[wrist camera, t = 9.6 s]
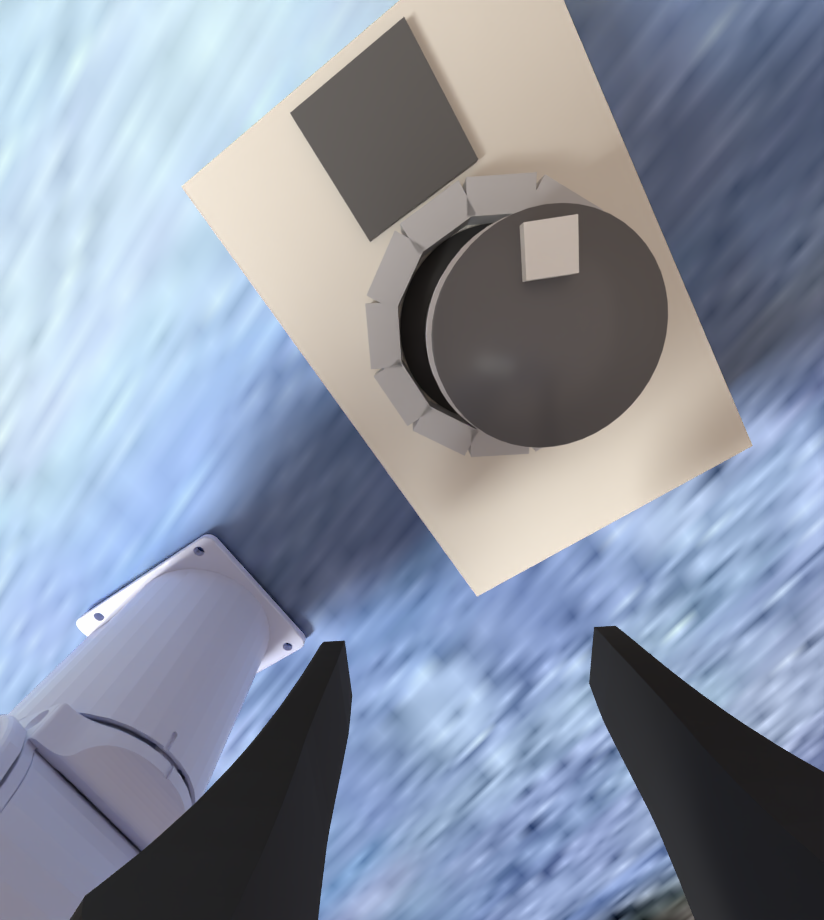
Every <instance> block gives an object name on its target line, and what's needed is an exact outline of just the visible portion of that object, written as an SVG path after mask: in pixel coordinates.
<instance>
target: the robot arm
mask: <svg viewBox="0 0 824 920" xmlns="http://www.w3.org/2000/svg"><path fill="white" fill-rule="evenodd" d="M197 547H201V548H203V550H204V552H201V551H199V550H198V548H197ZM100 613H101V614H103V615H101V614H100ZM76 624H77V627H78V628H79V629H80V630H81V631H82V632H83V633H84V634H85V635H86V636H87V638H86V639H85V640H84V641H82V642H81V643H80V644H79V645H78V646H77V647H76V648H75V649H74V650H73V651H72V652H71V653H70V654H69V655H68V656H67V657H66V658H65V659H64V660H63V661H62V662H61V663H60V664H59V665H58V666H57V667H56V668H55V669H54V670H53V671H52V672H51V673H50V674H49V675H48V676H47V677H46V678H44V679H43V680H42V681H41V682H40V683H39V684H38V685H37V686H36V687H35V688H34V689H33V690H32V691H31V692H30V693H29V694H28V695H27V696H26V697H25V698H24V699H23V700H22V701H21V702H20V703H19V704H18V705H17V706H16V707H15V708H14V709H13V710H12V711H11V712H10V713H9V714H4V715H0V920H318V914H319V905H320V896H321V888H322V880H323V872H324V863H325V855H326V847H327V841H328V835H329V829H330V824H331V819H332V814H333V809H334V804H335V799H336V794H337V789H338V784H339V779H340V774H341V769H342V764H343V759H344V754H345V749H346V744H347V739H348V734H349V724H350V714H351V703H352V691H351V684H350V676H349V669H348V662H347V654H346V647H345V641H331V642H323V643H322V644H321V645H320V647H319V649H318V650H317V652H316V654H315V655H314V657H313V658H312V660H311V662H310V663H309V665H308V666H307V668H306V669H305V671H304V672H303V674H302V676H301V677H300V679H299V680H298V682H297V683H296V684H295V686H294V687H293V689H292V690H291V692H290V693H289V694H288V696H287V697H286V699H285V700H284V702H283V703H282V704H281V706H280V707H279V708H278V710H277V711H276V712H275V714H274V715H273V716H272V718H271V719H270V720H269V721H268V723H267V724H266V725H265V727H264V728H263V729H262V731H261V732H260V733H259V734H258V736H257V737H256V738H255V739H254V740H253V742H252V743H251V744H250V745H249V746H248V747H247V749H246V750H245V751H244V752H243V753H242V754H241V756H240V757H239V758H238V759H237V760H236V761H235V762H234V763H233V764H232V766H231V767H230V768H229V769H228V770H227V771H226V772H225V773H224V774H223V775H222V776H221V777H220V778H219V779H218V780H217V781H216V782H215V783H214V784H213V786H212V787H211V788H210V789H209V790H208V791H207V792H206V793H205V794H204V792H205V790H206V787H207V785H208V783H209V780H210V778H211V776H212V774H213V771H214V769H215V767H216V764H217V762H218V760H219V758H220V755H221V753H222V751H223V748H224V746H225V744H226V742H227V739H228V737H229V735H230V732H231V730H232V728H233V726H234V723H235V721H236V719H237V716H238V714H239V712H240V710H241V707H242V705H243V703H244V700H245V698H246V696H247V694H248V691H249V689H250V687H251V684H252V682H253V680H254V678H255V675H256V673H258V672H260V671H262V670H263V669H265V668H267V667H269V666H270V665H272V664H274V663H276V662H278V661H279V660H281V659H283V658H285V657H286V656H288V655H290V654H292V653H293V652H295V651H297V650H299V649H300V648H302V647H303V645H304V643H305V640H306V638H305V635H304V634H303V632H302V631H301V630H300V629H299V628H298V627H297V626H296V625H295V624H294V622H293V621H292V620H291V619H290V618H289V617H288V616H287V615H286V614H285V613H284V611H283V610H282V609H281V608H280V607H279V606H278V605H277V604H276V603H275V601H274V600H273V599H272V598H271V597H270V596H269V595H268V594H267V593H266V592H265V590H264V589H263V588H262V587H261V586H260V585H259V584H258V583H257V582H256V580H255V579H254V578H253V577H252V576H251V575H250V574H249V573H248V572H247V570H246V569H245V568H244V567H243V566H242V565H241V564H240V563H239V562H238V561H237V559H236V558H235V557H234V556H233V555H232V554H231V553H230V552H229V551H228V549H227V548H226V547H225V546H224V545H223V544H222V543H221V542H220V541H219V539H218V538H217V537H215V536H214V535H211V534H206V535H203V536H202V537H200V538H198V539H197V540H195V541H194V542H192V543H191V544H189V545H188V546H186V547H185V548H183V549H182V550H180V551H179V552H177V553H176V554H174V555H173V556H171V557H170V558H168V559H167V560H165V561H164V562H162V563H161V564H159V565H158V566H156V567H154V568H153V569H151V570H150V571H148V572H147V573H145V574H144V575H142V576H141V577H139V578H138V579H136V580H135V581H133V582H132V583H130V584H129V585H127V586H126V587H124V588H123V589H121V590H120V591H118V592H117V593H115V594H113V595H112V596H110V597H109V598H107V599H106V600H104V601H103V602H101V603H100V604H98V605H97V606H95V607H94V608H92V609H91V610H89V611H88V612H86V613H85V614H83V615H82V616H81V617H80V618H79V619H78V620H77V622H76ZM286 643H290V644H291V645H287V644H286ZM589 684H590V687H591V689H592V692H593V695H594V698H595V700H596V703H597V706H598V708H599V711H600V713H601V716H602V718H603V721H604V723H605V725H606V727H607V729H608V731H609V733H610V735H611V737H612V739H613V741H614V743H615V745H616V747H617V749H618V751H619V753H620V755H621V757H622V759H623V761H624V763H625V765H626V767H627V768H628V770H629V772H630V774H631V776H632V778H633V780H634V782H635V784H636V786H637V788H638V790H639V792H640V794H641V796H642V798H643V800H644V802H645V804H646V805H647V807H648V809H649V811H650V814H651V816H652V818H653V820H654V822H655V824H656V826H657V828H658V831H659V833H660V835H661V838H662V840H663V842H664V845H665V847H666V850H667V852H668V854H669V857H670V859H671V862H672V864H673V866H674V869H675V871H676V874H677V876H678V878H679V881H680V883H681V886H682V888H683V891H684V893H685V896H686V898H687V901H688V904H689V906H690V909H691V911H692V914H693V916H694V919H695V920H824V772H823V771H821V770H819V769H817V768H816V767H814V766H812V765H810V764H809V763H807V762H805V761H803V760H802V759H800V758H798V757H796V756H795V755H793V754H791V753H790V752H788V751H786V750H785V749H783V748H781V747H780V746H778V745H776V744H775V743H773V742H771V741H770V740H768V739H767V738H765V737H764V736H762V735H760V734H759V733H757V732H756V731H754V730H753V729H751V728H749V727H748V726H746V725H745V724H743V723H742V722H740V721H739V720H737V719H736V718H734V717H733V716H731V715H730V714H728V713H727V712H726V711H724V710H723V709H721V708H720V707H719V706H717V705H716V704H714V703H713V702H712V701H710V700H709V699H707V698H706V697H705V696H703V695H702V694H701V693H699V692H698V691H697V690H695V689H694V688H693V687H691V686H690V685H689V684H687V683H686V682H685V681H683V680H682V679H681V678H679V677H678V676H677V675H676V674H674V673H673V672H672V671H671V670H669V669H668V668H667V667H665V666H664V665H663V664H662V663H661V662H659V661H658V660H657V659H656V658H654V657H653V656H652V655H651V654H649V653H648V652H647V651H646V650H645V649H643V648H642V647H641V646H640V645H638V644H637V643H636V642H635V641H634V640H632V639H631V638H630V637H629V636H628V635H626V634H625V633H624V632H623V631H621V630H620V629H619V628H618V627H616V626H606V627H594V635H593V646H592V658H591V669H590V681H589ZM203 794H204V795H203Z"/></svg>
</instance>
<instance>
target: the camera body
mask: <svg viewBox="0 0 824 920" xmlns="http://www.w3.org/2000/svg"><path fill="white" fill-rule="evenodd" d="M181 187H182V188H183V190H184V191H185V192H186V194H187V195H188V197H189V198H190V199H191V201H192V202H193V203H194V205H195V206H196V208H197V209H198V210H199V212H200V213H201V215H202V216H203V217H204V219H205V220H206V221H207V223H208V224H209V226H210V227H211V228H212V230H213V231H214V233H215V234H216V235H217V237H218V238H219V239H220V241H221V242H222V244H223V245H224V246H225V248H226V249H227V251H228V252H229V253H230V255H231V256H232V258H233V259H234V260H235V262H236V263H237V264H238V266H239V267H240V269H241V270H242V271H243V273H244V274H245V276H246V277H247V278H248V280H249V281H250V282H251V284H252V285H253V287H254V288H255V289H256V291H257V292H258V294H259V295H260V296H261V298H262V299H263V300H264V302H265V303H266V305H267V306H268V307H269V309H270V310H271V312H272V313H273V314H274V316H275V317H276V318H277V320H278V321H279V323H280V324H281V325H282V327H283V328H284V330H285V331H286V332H287V334H288V335H289V336H290V338H291V339H292V341H293V342H294V343H295V345H296V346H297V348H298V349H299V350H300V352H301V353H302V355H303V356H304V357H305V359H306V360H307V361H308V363H309V364H310V366H311V367H312V368H313V370H314V371H315V373H316V374H317V375H318V377H319V378H320V379H321V381H322V382H323V384H324V385H325V386H326V388H327V389H328V391H329V392H330V393H331V395H332V396H333V397H334V399H335V400H336V402H337V403H338V404H339V406H340V407H341V409H342V410H343V411H344V413H345V414H346V415H347V417H348V418H349V420H350V421H351V422H352V424H353V425H354V427H355V428H356V429H357V431H358V432H359V434H360V435H361V436H362V438H363V439H364V440H365V442H366V443H367V445H368V446H369V447H370V449H371V450H372V452H373V453H374V454H375V456H376V457H377V458H378V460H379V461H380V463H381V464H382V465H383V467H384V468H385V470H386V471H387V472H388V474H389V475H390V476H391V478H392V479H393V481H394V482H395V483H396V485H397V486H398V488H399V489H400V490H401V492H402V493H403V494H404V496H405V497H406V499H407V500H408V501H409V503H410V504H411V506H412V507H413V508H414V510H415V511H416V512H417V514H418V515H419V517H420V518H421V519H422V521H423V522H424V524H425V525H426V526H427V528H428V529H429V531H430V532H431V533H432V535H433V536H434V537H435V539H436V540H437V542H438V543H439V544H440V546H441V547H442V549H443V550H444V551H445V553H446V554H447V555H448V557H449V558H450V560H451V561H452V562H453V564H454V565H455V567H456V568H457V569H458V571H459V572H460V573H461V575H462V576H463V578H464V579H465V580H466V582H467V583H468V585H469V586H470V587H471V589H472V590H473V591H474V593H475V594H476V596H479V595H481V594H482V593H484V592H486V591H488V590H490V589H492V588H493V587H495V586H497V585H499V584H501V583H502V582H504V581H506V580H508V579H510V578H512V577H513V576H515V575H517V574H519V573H521V572H523V571H524V570H526V569H528V568H530V567H532V566H534V565H535V564H537V563H539V562H541V561H543V560H545V559H546V558H548V557H550V556H552V555H554V554H555V553H557V552H559V551H561V550H563V549H565V548H566V547H568V546H570V545H572V544H574V543H576V542H577V541H579V540H581V539H583V538H585V537H587V536H588V535H590V534H592V533H594V532H596V531H598V530H599V529H601V528H603V527H605V526H607V525H608V524H610V523H612V522H614V521H616V520H618V519H619V518H621V517H623V516H625V515H627V514H629V513H630V512H632V511H634V510H636V509H638V508H640V507H641V506H643V505H645V504H647V503H649V502H651V501H652V500H654V499H656V498H658V497H660V496H661V495H663V494H665V493H667V492H669V491H671V490H672V489H674V488H676V487H678V486H680V485H682V484H683V483H685V482H687V481H689V480H691V479H693V478H694V477H696V476H698V475H700V474H702V473H704V472H705V471H707V470H709V469H711V468H713V467H714V466H716V465H718V464H720V463H722V462H724V461H725V460H727V459H729V458H731V457H733V456H735V455H736V454H738V453H740V452H742V451H744V450H746V449H747V448H749V447H751V446H752V443H751V441H750V439H749V436H748V434H747V432H746V429H745V427H744V425H743V422H742V420H741V418H740V415H739V413H738V410H737V408H736V406H735V403H734V401H733V399H732V396H731V394H730V392H729V389H728V387H727V384H726V382H725V380H724V377H723V375H722V373H721V370H720V368H719V366H718V363H717V361H716V359H715V356H714V354H713V351H712V349H711V347H710V344H709V342H708V340H707V337H706V335H705V333H704V330H703V328H702V325H701V323H700V321H699V318H698V316H697V314H696V311H695V309H694V307H693V304H692V302H691V300H690V297H689V295H688V292H687V290H686V288H685V285H684V283H683V281H682V278H681V276H680V274H679V271H678V269H677V267H676V264H675V262H674V259H673V257H672V255H671V252H670V250H669V248H668V245H667V243H666V241H665V238H664V236H663V233H662V231H661V229H660V226H659V224H658V222H657V219H656V217H655V215H654V212H653V210H652V208H651V205H650V203H649V200H648V198H647V196H646V193H645V191H644V189H643V186H642V184H641V182H640V179H639V177H638V175H637V172H636V170H635V167H634V165H633V163H632V160H631V158H630V156H629V153H628V151H627V149H626V146H625V144H624V141H623V139H622V137H621V134H620V132H619V130H618V127H617V125H616V123H615V120H614V118H613V116H612V113H611V111H610V108H609V106H608V104H607V101H606V99H605V97H604V94H603V92H602V90H601V87H600V85H599V82H598V80H597V78H596V75H595V73H594V71H593V68H592V66H591V64H590V61H589V59H588V57H587V54H586V52H585V49H584V47H583V45H582V42H581V40H580V38H579V35H578V33H577V31H576V28H575V26H574V24H573V21H572V19H571V16H570V14H569V12H568V9H567V7H566V5H565V2H564V0H399V1H398V2H397V3H396V4H395V5H394V6H392V7H391V8H390V9H389V10H388V11H386V12H385V13H384V14H383V15H382V16H381V17H379V18H378V19H377V20H376V21H375V22H374V23H372V24H371V25H370V26H369V27H368V28H367V29H365V30H364V31H363V32H362V33H361V34H360V35H358V36H357V37H356V38H355V39H354V40H352V41H351V42H350V43H349V44H348V45H347V46H345V47H344V48H343V49H342V50H341V51H340V52H338V53H337V54H336V55H335V56H334V57H333V58H331V59H330V60H329V61H328V62H327V63H326V64H324V65H323V66H322V67H321V68H320V69H319V70H317V71H316V72H315V73H314V74H313V75H311V76H310V77H309V78H308V79H307V80H306V81H304V82H303V83H302V84H301V85H300V86H299V87H297V88H296V89H295V90H294V91H293V92H292V93H290V94H289V95H288V96H287V97H286V98H285V99H283V100H282V101H281V102H280V103H279V104H277V105H276V106H275V107H274V108H273V109H272V110H270V111H269V112H268V113H267V114H266V115H265V116H263V117H262V118H261V119H260V120H259V121H258V122H256V123H255V124H254V125H253V126H252V127H251V128H249V129H248V130H247V131H246V132H245V133H244V134H242V135H241V136H240V137H239V138H238V139H236V140H235V141H234V142H233V143H232V144H231V145H229V146H228V147H227V148H226V149H225V150H224V151H222V152H221V153H220V154H219V155H218V156H217V157H215V158H214V159H213V160H212V161H211V162H210V163H208V164H207V165H206V166H205V167H204V168H202V169H201V170H200V171H199V172H198V173H197V174H195V175H194V176H193V177H192V178H191V179H190V180H188V181H187V182H186V183H185V184H184V185H183V186H181ZM553 203H573V204H581V205H586V206H590V207H594V208H597V209H599V210H602V211H604V212H607V213H609V214H611V215H613V216H615V217H616V218H618V219H620V220H621V221H623V222H624V223H625V224H627V225H628V226H629V227H630V228H631V229H633V230H634V231H635V232H636V233H637V234H638V235H639V236H640V238H641V239H642V240H643V241H644V242H645V243H646V245H647V246H648V248H649V249H650V251H651V252H652V254H653V256H654V257H655V259H656V262H657V264H658V266H659V268H660V270H661V273H662V277H663V280H664V284H665V287H666V294H667V301H668V324H667V333H666V338H665V343H664V347H663V351H662V354H661V356H660V359H659V362H658V365H657V367H656V369H655V371H654V373H653V375H652V377H651V379H650V381H649V382H648V384H647V385H646V387H645V388H644V390H643V391H642V393H641V394H640V395H639V397H638V398H637V399H636V400H635V401H634V403H633V404H632V405H631V406H630V407H629V408H628V409H627V410H626V411H625V412H624V413H623V414H622V415H621V416H620V417H618V418H617V419H616V420H615V421H613V422H612V423H611V424H609V425H608V426H606V427H605V428H603V429H601V430H600V431H598V432H596V433H595V434H593V435H590V436H588V437H586V438H584V439H582V440H578V441H575V442H572V443H569V444H565V445H560V446H555V447H542V448H536V447H524V446H518V445H513V444H509V443H506V442H503V441H500V440H498V439H496V438H494V437H492V436H489V435H487V434H486V433H484V432H483V431H481V430H479V429H477V428H476V427H474V426H473V425H471V424H470V423H468V422H467V421H466V420H465V419H464V418H463V417H461V416H460V415H459V414H458V413H457V412H456V411H455V410H454V409H453V407H452V406H451V405H450V404H449V403H448V401H447V400H446V398H445V397H444V395H443V394H442V392H441V390H440V388H439V386H438V384H437V382H436V380H435V378H434V375H433V373H432V370H431V367H430V364H429V359H428V354H427V351H426V346H425V341H424V322H425V316H426V311H427V308H428V305H429V302H430V300H431V298H432V296H433V293H434V290H435V288H436V286H437V284H438V282H439V280H440V278H441V276H442V275H443V273H444V271H445V270H446V268H447V267H448V265H449V264H450V262H451V261H452V259H453V258H454V257H455V256H456V254H457V253H458V252H459V251H460V250H461V248H462V247H463V246H464V245H465V244H466V243H467V242H469V241H470V240H471V239H472V238H473V237H474V236H475V235H476V234H478V233H479V232H481V231H482V230H483V229H485V228H486V227H487V226H489V225H491V224H493V223H495V222H496V221H498V220H500V219H502V218H505V217H507V216H510V215H512V214H514V213H517V212H519V211H522V210H524V209H527V208H530V207H535V206H539V205H543V204H553Z"/></svg>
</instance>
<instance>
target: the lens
mask: <svg viewBox="0 0 824 920" xmlns="http://www.w3.org/2000/svg"><path fill="white" fill-rule="evenodd" d="M667 324H668V301H667V294H666V287H665V284H664V280H663V277H662V273H661V270H660V268H659V266H658V264H657V262H656V259H655V257H654V256H653V254H652V252H651V251H650V249H649V248H648V246H647V245H646V243H645V242H644V241H643V240H642V239H641V238H640V236H639V235H638V234H637V233H636V232H635V231H634V230H633V229H631V228H630V227H629V226H628V225H627V224H625V223H624V222H623V221H621V220H620V219H618V218H616V217H615V216H613V215H611V214H609V213H607V212H604V211H602V210H599V209H597V208H594V207H590V206H586V205H581V204H573V203H553V204H543V205H539V206H535V207H530V208H527V209H524V210H522V211H519V212H517V213H514V214H512V215H510V216H507V217H505V218H502V219H500V220H498V221H496V222H495V223H493V224H491V225H489V226H487V227H486V228H485V229H483V230H482V231H481V232H479V233H478V234H476V235H475V236H474V237H473V238H472V239H471V240H470V241H469V242H467V243H466V244H465V245H464V246H463V247H462V248H461V250H460V251H459V252H458V253H457V254H456V256H455V257H454V258H453V259H452V261H451V262H450V264H449V265H448V267H447V268H446V270H445V271H444V273H443V275H442V276H441V278H440V280H439V282H438V284H437V286H436V288H435V290H434V293H433V296H432V298H431V300H430V302H429V305H428V308H427V311H426V316H425V322H424V341H425V346H426V351H427V354H428V359H429V364H430V367H431V370H432V373H433V375H434V378H435V380H436V382H437V384H438V386H439V388H440V390H441V392H442V394H443V395H444V397H445V398H446V400H447V401H448V403H449V404H450V405H451V406H452V407H453V409H454V410H455V411H456V412H457V413H458V414H459V415H460V416H461V417H463V418H464V419H465V420H466V421H467V422H468V423H470V424H471V425H473V426H474V427H476V428H477V429H479V430H481V431H483V432H484V433H486V434H487V435H489V436H492V437H494V438H496V439H498V440H500V441H503V442H506V443H509V444H513V445H518V446H524V447H536V448H542V447H555V446H560V445H565V444H569V443H572V442H575V441H578V440H582V439H584V438H586V437H588V436H590V435H593V434H595V433H596V432H598V431H600V430H601V429H603V428H605V427H606V426H608V425H609V424H611V423H612V422H613V421H615V420H616V419H617V418H618V417H620V416H621V415H622V414H623V413H624V412H625V411H626V410H627V409H628V408H629V407H630V406H631V405H632V404H633V403H634V401H635V400H636V399H637V398H638V397H639V395H640V394H641V393H642V391H643V390H644V388H645V387H646V385H647V384H648V382H649V381H650V379H651V377H652V375H653V373H654V371H655V369H656V367H657V365H658V362H659V359H660V356H661V354H662V351H663V347H664V343H665V338H666V333H667Z"/></svg>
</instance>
